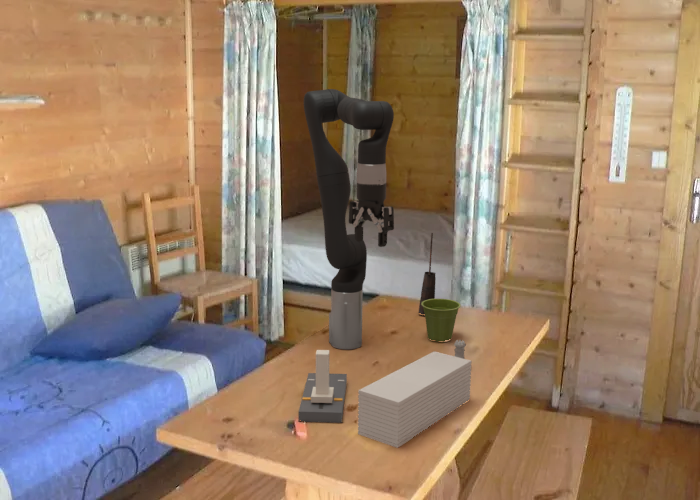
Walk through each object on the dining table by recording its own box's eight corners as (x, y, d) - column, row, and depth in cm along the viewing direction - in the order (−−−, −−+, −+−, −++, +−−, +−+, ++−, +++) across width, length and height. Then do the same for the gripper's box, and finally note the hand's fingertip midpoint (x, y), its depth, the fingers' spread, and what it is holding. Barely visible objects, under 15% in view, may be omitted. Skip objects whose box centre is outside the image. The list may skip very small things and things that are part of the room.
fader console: (308, 381, 202) (308, 371, 201) (346, 382, 201) (346, 372, 201) (298, 421, 178) (298, 410, 178) (341, 422, 178) (341, 411, 177)
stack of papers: (432, 390, 197) (434, 351, 195) (469, 401, 191) (471, 360, 188) (357, 435, 172) (358, 390, 170) (397, 449, 166) (398, 402, 164)
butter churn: (433, 321, 253) (436, 238, 247) (407, 316, 258) (409, 234, 252) (444, 314, 261) (447, 233, 255) (419, 310, 266) (421, 230, 260)
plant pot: (412, 339, 236) (413, 303, 233) (435, 330, 244) (436, 296, 242) (443, 348, 228) (445, 312, 225) (466, 339, 236) (468, 303, 234)
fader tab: (313, 392, 187) (313, 347, 185) (333, 393, 187) (333, 348, 185) (310, 402, 181) (310, 356, 179) (332, 403, 181) (332, 356, 179)
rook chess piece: (468, 367, 213) (469, 339, 211) (465, 372, 209) (466, 344, 207) (452, 365, 214) (453, 337, 213) (449, 370, 210) (450, 342, 209)
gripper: (341, 179, 198) (341, 241, 201) (380, 185, 188) (379, 250, 191) (362, 177, 203) (362, 237, 206) (402, 182, 193) (400, 246, 196)
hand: (370, 243), depth 199 cm, fingers open, 8 cm apart
